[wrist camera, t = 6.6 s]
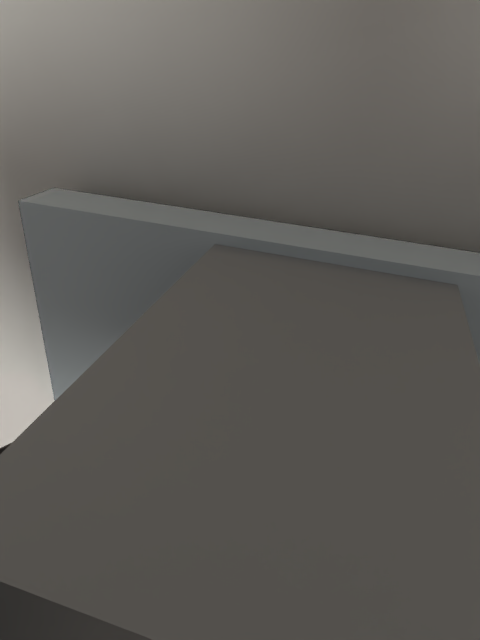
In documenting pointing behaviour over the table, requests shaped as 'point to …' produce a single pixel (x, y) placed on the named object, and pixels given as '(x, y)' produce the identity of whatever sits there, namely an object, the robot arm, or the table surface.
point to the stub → (243, 432)
